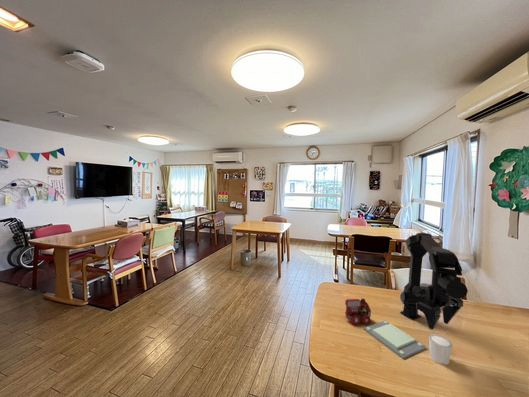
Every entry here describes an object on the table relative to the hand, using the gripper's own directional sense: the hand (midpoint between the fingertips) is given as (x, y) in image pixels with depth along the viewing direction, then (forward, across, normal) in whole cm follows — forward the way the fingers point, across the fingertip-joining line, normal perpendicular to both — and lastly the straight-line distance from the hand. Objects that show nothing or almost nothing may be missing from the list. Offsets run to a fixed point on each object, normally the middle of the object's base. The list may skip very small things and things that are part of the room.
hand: (438, 326), depth 81 cm
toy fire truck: (+12, +10, -28) cm, 32 cm away
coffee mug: (+12, -36, -23) cm, 45 cm away
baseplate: (+12, +6, -13) cm, 19 cm away
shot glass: (+12, -1, +1) cm, 12 cm away
